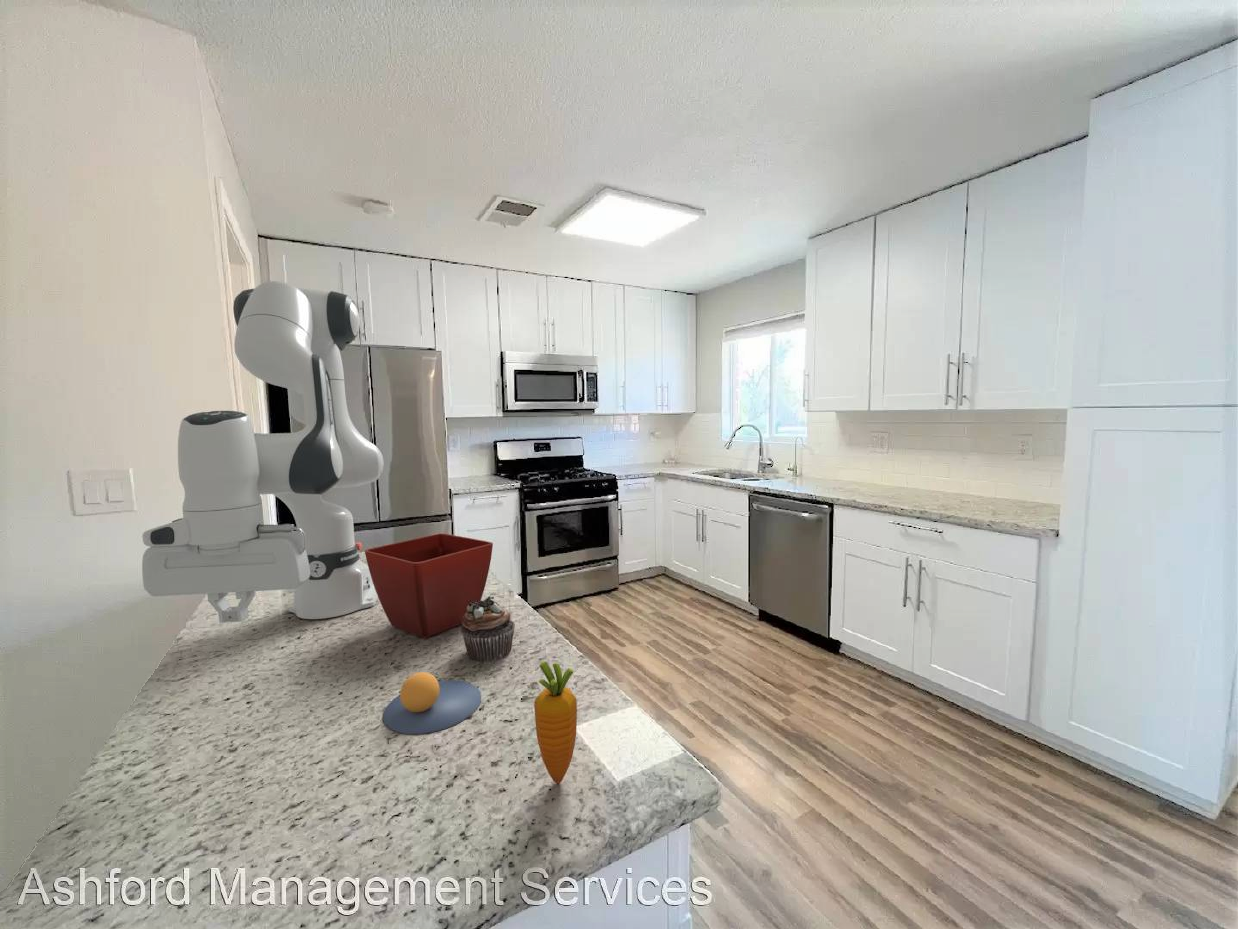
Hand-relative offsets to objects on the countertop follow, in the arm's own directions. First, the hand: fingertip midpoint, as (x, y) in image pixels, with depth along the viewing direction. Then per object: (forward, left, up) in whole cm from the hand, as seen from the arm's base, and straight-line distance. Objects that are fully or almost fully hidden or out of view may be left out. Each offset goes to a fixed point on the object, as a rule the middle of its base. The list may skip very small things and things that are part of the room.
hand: (234, 620), depth 72 cm
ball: (+1, +25, -12) cm, 28 cm away
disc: (0, +27, -15) cm, 31 cm away
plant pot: (-33, +19, -15) cm, 41 cm away
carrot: (+19, +46, -15) cm, 52 cm away
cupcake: (-17, +33, -15) cm, 40 cm away
